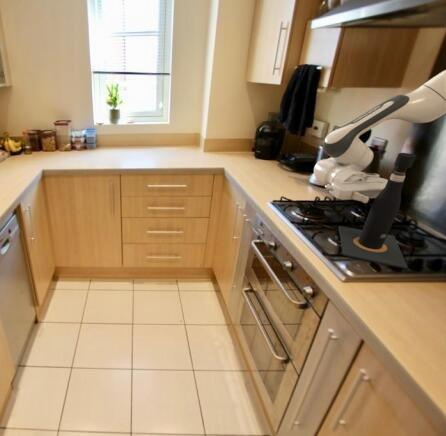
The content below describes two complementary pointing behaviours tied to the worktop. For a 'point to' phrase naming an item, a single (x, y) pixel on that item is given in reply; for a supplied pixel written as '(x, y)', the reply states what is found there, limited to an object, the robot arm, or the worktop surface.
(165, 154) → the worktop surface
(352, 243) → the centre mat
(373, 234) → the wine bottle
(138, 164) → the worktop surface
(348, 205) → the worktop surface
